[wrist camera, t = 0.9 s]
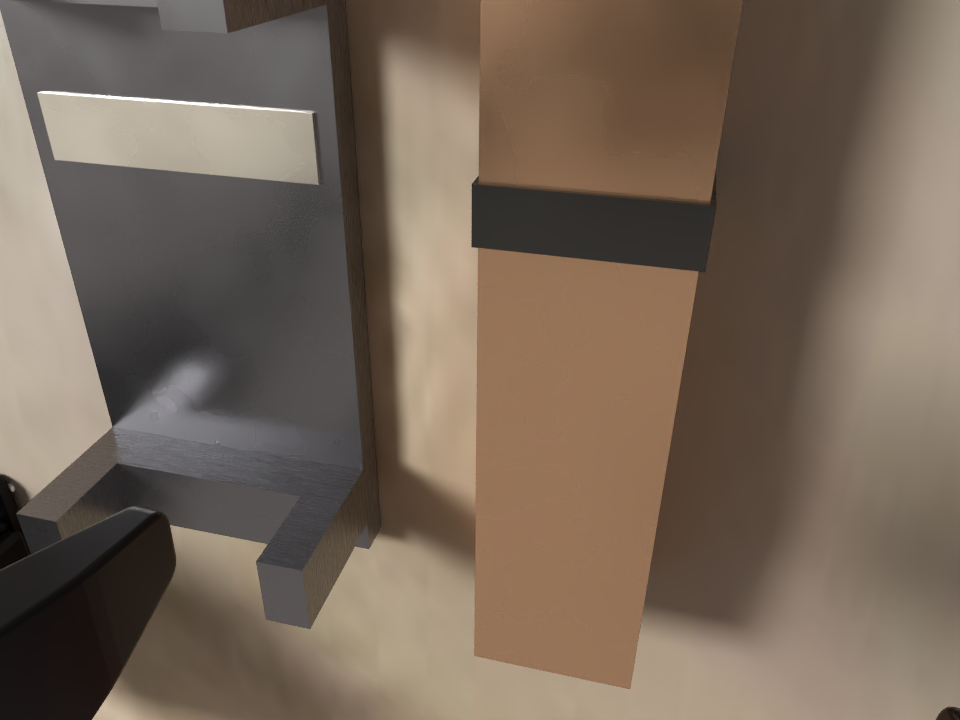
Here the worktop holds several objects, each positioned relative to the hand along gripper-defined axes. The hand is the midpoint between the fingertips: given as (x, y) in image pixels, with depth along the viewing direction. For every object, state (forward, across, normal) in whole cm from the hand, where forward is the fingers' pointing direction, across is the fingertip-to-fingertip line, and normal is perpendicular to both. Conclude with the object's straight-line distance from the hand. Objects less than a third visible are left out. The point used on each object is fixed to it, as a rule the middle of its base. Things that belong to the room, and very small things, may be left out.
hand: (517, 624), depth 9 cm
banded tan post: (+11, 0, +1) cm, 11 cm away
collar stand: (+11, +10, +1) cm, 15 cm away
